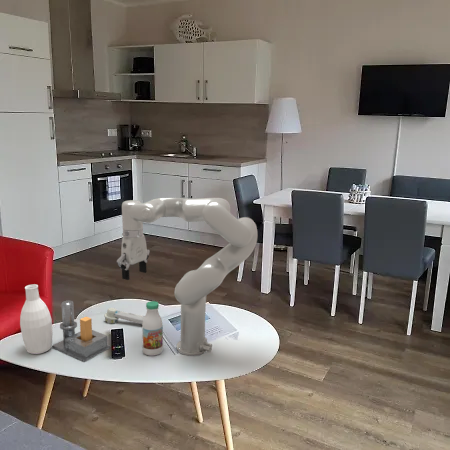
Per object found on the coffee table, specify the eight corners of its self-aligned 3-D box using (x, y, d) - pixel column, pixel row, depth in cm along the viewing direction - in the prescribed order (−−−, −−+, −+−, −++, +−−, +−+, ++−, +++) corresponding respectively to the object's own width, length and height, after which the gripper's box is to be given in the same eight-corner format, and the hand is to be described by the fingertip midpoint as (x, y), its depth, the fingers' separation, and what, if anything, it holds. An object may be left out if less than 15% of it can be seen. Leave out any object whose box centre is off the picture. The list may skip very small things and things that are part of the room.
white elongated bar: (157, 322, 193) (103, 307, 197) (155, 336, 195) (101, 321, 199) (162, 317, 198) (108, 303, 202) (160, 330, 200) (107, 316, 204)
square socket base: (110, 347, 178) (109, 307, 174) (84, 362, 168) (82, 319, 164) (77, 334, 188) (75, 295, 184) (50, 346, 178) (47, 306, 174)
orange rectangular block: (92, 347, 176) (91, 318, 173) (86, 350, 174) (84, 321, 171) (87, 345, 178) (86, 316, 175) (81, 348, 175) (79, 319, 173)
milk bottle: (138, 351, 177) (137, 302, 172) (154, 344, 182) (154, 297, 177) (150, 358, 172) (150, 309, 167) (166, 351, 177) (166, 303, 172)
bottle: (17, 353, 172) (7, 290, 166) (37, 339, 182) (29, 279, 176) (41, 357, 169) (33, 293, 163) (61, 343, 179) (53, 282, 173)
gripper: (124, 239, 165) (126, 284, 169) (155, 229, 179) (156, 271, 183) (109, 236, 169) (111, 280, 173) (140, 227, 183) (142, 268, 187)
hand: (134, 275), depth 178 cm, fingers open, 9 cm apart
